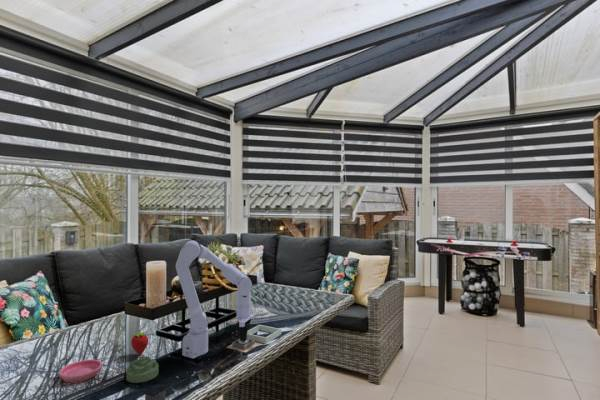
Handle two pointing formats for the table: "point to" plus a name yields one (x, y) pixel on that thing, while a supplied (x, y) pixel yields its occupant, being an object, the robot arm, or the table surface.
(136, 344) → the strawberry
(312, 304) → the table surface
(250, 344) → the socket block
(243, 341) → the strut
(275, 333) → the bin
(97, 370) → the saucer
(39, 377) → the table surface
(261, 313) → the adjustable wrench
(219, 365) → the table surface
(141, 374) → the decorative artifact
